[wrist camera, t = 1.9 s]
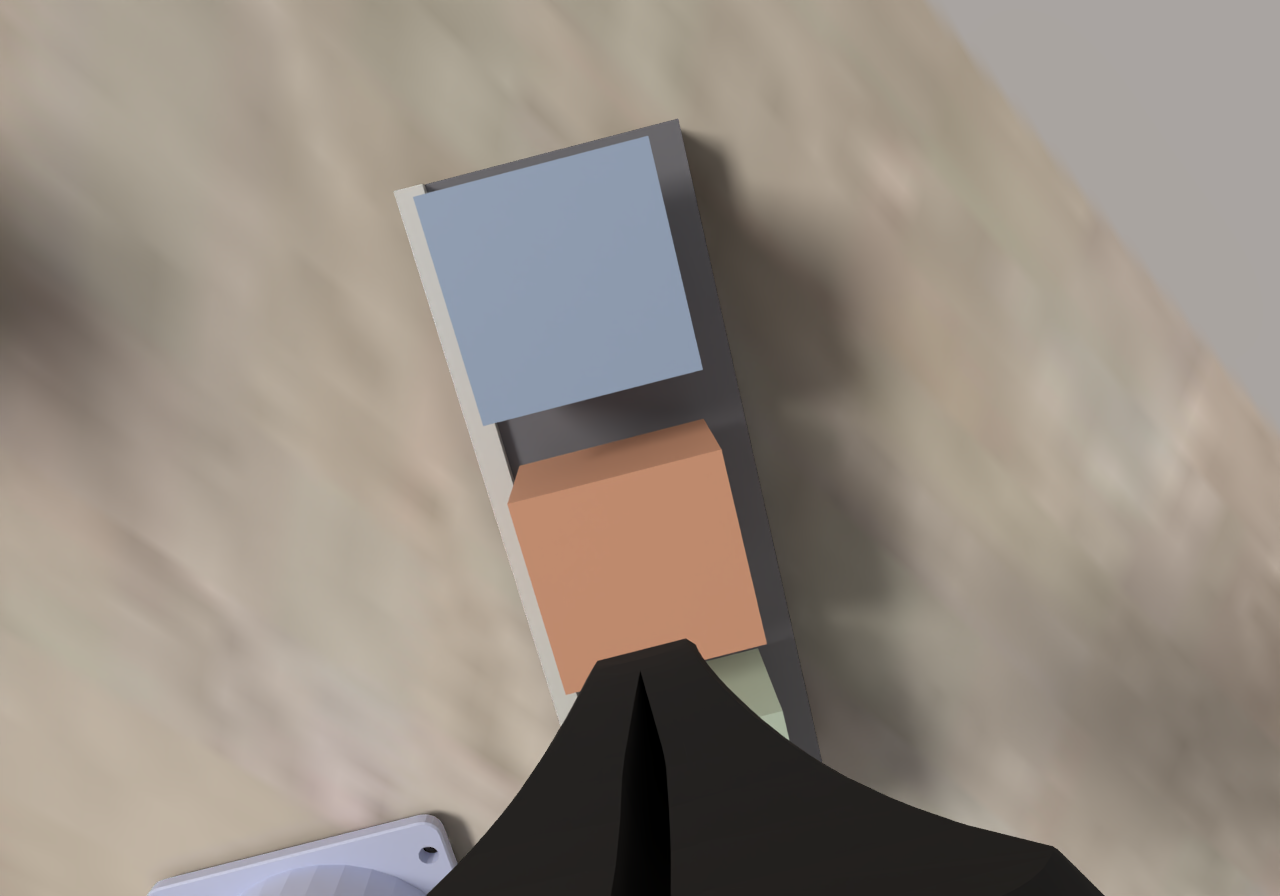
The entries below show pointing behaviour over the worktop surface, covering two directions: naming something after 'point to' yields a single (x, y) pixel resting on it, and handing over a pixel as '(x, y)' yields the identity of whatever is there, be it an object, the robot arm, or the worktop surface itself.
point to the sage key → (751, 685)
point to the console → (633, 419)
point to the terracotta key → (635, 549)
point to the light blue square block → (561, 280)
